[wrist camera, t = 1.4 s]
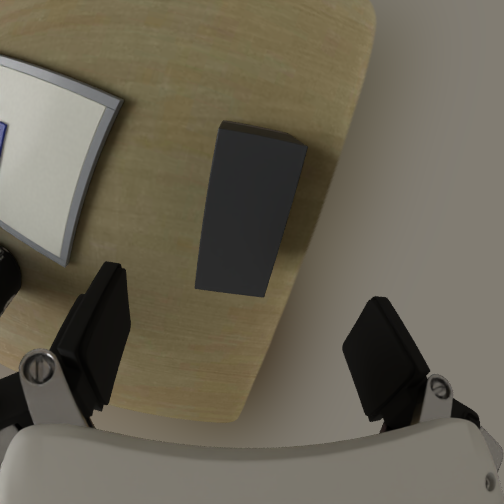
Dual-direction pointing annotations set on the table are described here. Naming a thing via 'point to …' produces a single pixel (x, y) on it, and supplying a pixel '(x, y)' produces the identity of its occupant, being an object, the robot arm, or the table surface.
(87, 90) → the whiteboard
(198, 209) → the table surface
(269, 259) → the whiteboard eraser
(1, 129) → the blue rectangular bar
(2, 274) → the beverage can
